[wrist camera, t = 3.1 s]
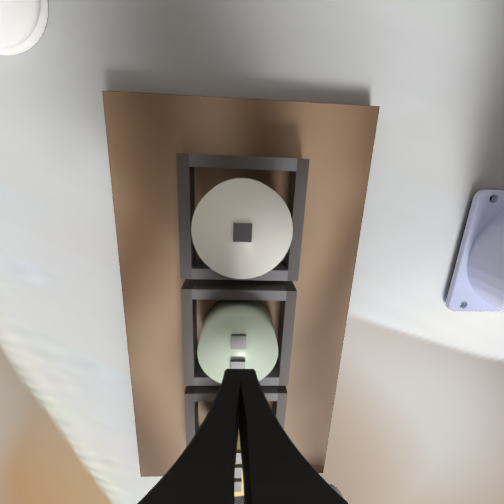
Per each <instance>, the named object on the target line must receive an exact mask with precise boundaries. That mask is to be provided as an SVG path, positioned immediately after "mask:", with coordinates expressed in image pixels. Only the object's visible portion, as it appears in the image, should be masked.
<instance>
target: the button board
mask: <svg viewBox="0 0 504 504" xmlns="http://www.w3.org/2000/svg"><path fill="white" fill-rule="evenodd" d="M102 93H103V103H104V113H105V123H106V133H107V143H108V153H109V163H110V173H111V183H112V193H113V203H114V213H115V223H116V233H117V243H118V253H119V263H120V273H121V283H122V293H123V303H124V313H125V323H126V333H127V343H128V353H129V363H130V373H131V383H132V393H133V403H134V413H135V423H136V433H137V443H138V453H139V463H140V473H141V477H147V476H164V475H165V474H166V473H167V471H168V470H169V469H170V468H171V467H172V465H173V464H174V463H175V462H176V460H177V459H178V458H179V457H180V455H181V454H182V453H183V451H184V450H185V448H186V447H187V446H188V444H189V443H190V441H191V440H192V438H193V437H194V435H195V434H196V432H197V431H198V429H199V427H200V426H201V424H202V422H203V421H204V419H205V417H206V415H207V413H208V411H209V410H210V408H211V406H212V404H213V402H214V399H215V397H216V395H217V393H218V390H219V388H220V385H221V383H218V382H216V381H215V380H213V379H212V378H210V377H209V376H208V375H207V374H206V373H205V372H204V371H203V369H202V368H201V366H200V364H199V361H198V355H197V350H198V344H199V340H200V335H201V331H202V326H203V322H204V319H205V316H206V314H207V313H208V311H209V310H210V309H211V308H212V307H213V306H214V305H215V304H217V303H218V302H220V301H222V300H255V301H257V302H259V303H260V304H261V305H263V306H264V307H265V308H266V309H267V311H268V312H269V314H270V316H271V318H272V321H273V326H274V330H275V335H276V339H277V344H278V358H277V361H276V364H275V366H274V368H273V369H272V370H271V372H270V373H269V374H268V375H267V376H266V377H264V378H263V379H261V380H260V381H259V383H260V386H261V388H262V391H263V393H264V395H265V397H266V399H267V401H268V403H269V405H270V407H271V409H272V411H273V413H274V414H275V416H276V418H277V419H278V421H279V423H280V424H281V426H282V428H283V429H284V431H285V432H286V434H287V435H288V437H289V438H290V439H291V441H292V442H293V444H294V445H295V446H296V448H297V449H298V450H299V452H300V453H301V454H302V455H303V456H304V458H305V459H306V460H307V461H308V462H309V463H310V465H311V466H312V467H313V468H314V469H315V471H316V472H317V473H323V469H324V462H325V456H326V450H327V443H328V437H329V431H330V424H331V417H332V411H333V405H334V397H335V392H336V385H337V379H338V372H339V366H340V359H341V352H342V346H343V340H344V333H345V327H346V320H347V314H348V308H349V301H350V295H351V288H352V282H353V275H354V269H355V262H356V256H357V249H358V243H359V236H360V230H361V223H362V217H363V210H364V204H365V198H366V191H367V185H368V178H369V172H370V165H371V159H372V152H373V146H374V139H375V133H376V126H377V120H378V113H379V107H380V106H363V105H346V104H328V103H311V102H293V101H276V100H258V99H240V98H223V97H205V96H188V95H170V94H152V93H135V92H117V91H102ZM232 178H250V179H254V180H257V181H259V182H261V183H263V184H265V185H267V186H268V187H270V188H271V189H272V190H274V191H275V192H276V193H277V194H278V195H279V196H280V197H281V198H282V199H283V201H284V202H285V204H286V205H287V207H288V209H289V212H290V214H291V218H292V224H293V235H292V241H291V244H290V247H289V249H288V252H287V253H286V255H285V257H284V258H283V259H282V261H281V262H280V263H279V264H278V265H277V266H276V267H275V268H273V269H272V270H271V271H269V272H267V273H265V274H263V275H261V276H258V277H255V278H249V279H234V278H229V277H226V276H223V275H221V274H219V273H217V272H215V271H214V270H212V269H211V268H210V267H208V266H207V265H206V264H205V263H204V262H203V261H202V259H201V258H200V256H199V255H198V253H197V251H196V249H195V247H194V244H193V240H192V234H191V224H192V218H193V215H194V212H195V209H196V207H197V205H198V204H199V202H200V201H201V199H202V198H203V197H204V196H205V195H206V194H207V193H208V192H209V191H210V190H211V189H213V188H214V187H215V186H216V185H218V184H220V183H221V182H223V181H226V180H229V179H232Z"/></svg>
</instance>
